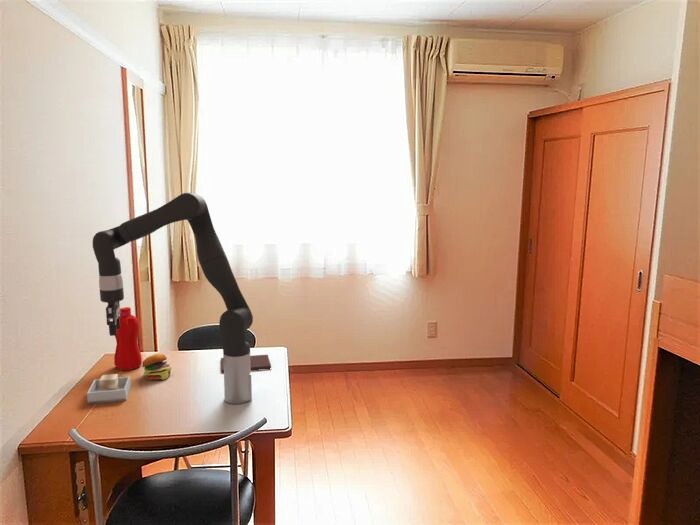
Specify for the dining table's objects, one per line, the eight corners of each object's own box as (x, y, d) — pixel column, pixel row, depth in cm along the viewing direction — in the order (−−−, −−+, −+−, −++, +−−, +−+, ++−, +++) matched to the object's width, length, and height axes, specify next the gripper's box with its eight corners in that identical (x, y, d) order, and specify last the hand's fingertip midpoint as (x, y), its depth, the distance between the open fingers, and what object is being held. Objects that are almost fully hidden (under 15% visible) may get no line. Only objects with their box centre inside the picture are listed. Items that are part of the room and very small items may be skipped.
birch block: (118, 389, 186) (117, 373, 185) (116, 395, 181) (115, 379, 180) (103, 390, 185) (102, 375, 184) (101, 396, 180) (99, 380, 179)
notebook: (221, 361, 219) (220, 356, 219) (267, 357, 224) (267, 353, 223) (221, 374, 205) (221, 369, 204) (271, 370, 209) (271, 365, 209)
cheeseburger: (154, 383, 193) (148, 358, 193) (139, 383, 200) (134, 358, 199) (177, 375, 201) (172, 350, 201) (162, 375, 208) (157, 351, 207)
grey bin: (130, 386, 191) (130, 376, 190) (126, 400, 179) (125, 389, 178) (95, 389, 188) (94, 379, 187) (87, 404, 176) (86, 393, 175)
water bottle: (132, 360, 217) (128, 302, 213) (144, 366, 210) (141, 307, 206) (110, 366, 210) (106, 307, 206) (122, 372, 203) (118, 312, 199)
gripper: (120, 290, 173) (123, 336, 176) (125, 282, 187) (128, 325, 189) (95, 292, 171) (100, 338, 174) (103, 283, 185) (106, 327, 187)
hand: (115, 331), depth 182 cm, fingers open, 8 cm apart
